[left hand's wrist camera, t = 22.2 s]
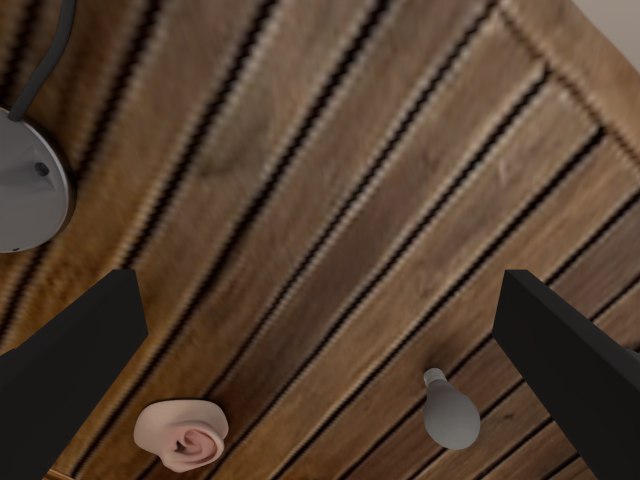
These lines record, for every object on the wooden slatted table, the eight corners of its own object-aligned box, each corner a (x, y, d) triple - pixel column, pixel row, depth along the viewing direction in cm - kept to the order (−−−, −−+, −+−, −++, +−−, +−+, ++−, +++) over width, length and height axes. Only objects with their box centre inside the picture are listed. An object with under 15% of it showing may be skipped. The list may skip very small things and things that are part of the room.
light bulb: (407, 358, 45) (430, 425, 36) (454, 351, 45) (490, 417, 35) (411, 394, 47) (433, 466, 38) (456, 388, 47) (490, 459, 38)
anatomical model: (122, 481, 48) (113, 418, 44) (136, 454, 51) (130, 393, 47) (221, 489, 48) (222, 427, 44) (228, 461, 52) (229, 402, 48)
